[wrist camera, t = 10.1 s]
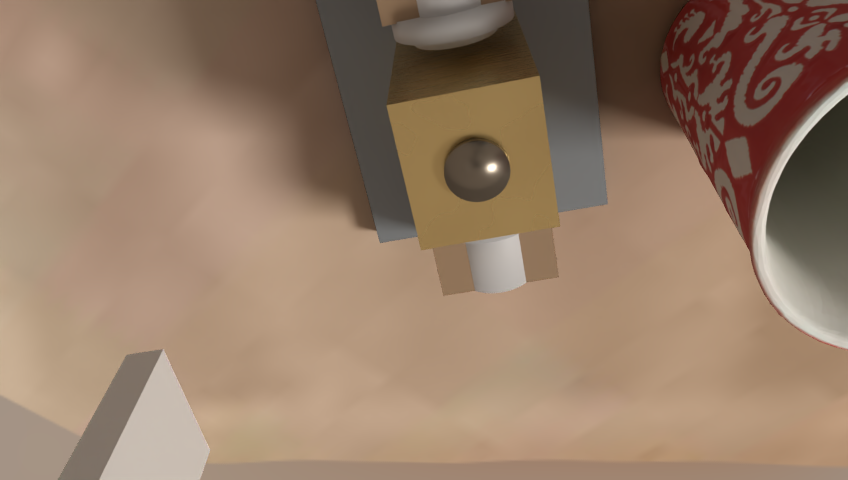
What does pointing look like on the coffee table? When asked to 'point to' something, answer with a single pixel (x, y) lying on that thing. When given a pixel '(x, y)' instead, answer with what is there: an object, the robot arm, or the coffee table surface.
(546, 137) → the coupler
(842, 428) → the coffee table surface
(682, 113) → the mug
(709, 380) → the coffee table surface
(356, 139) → the shaft bench
